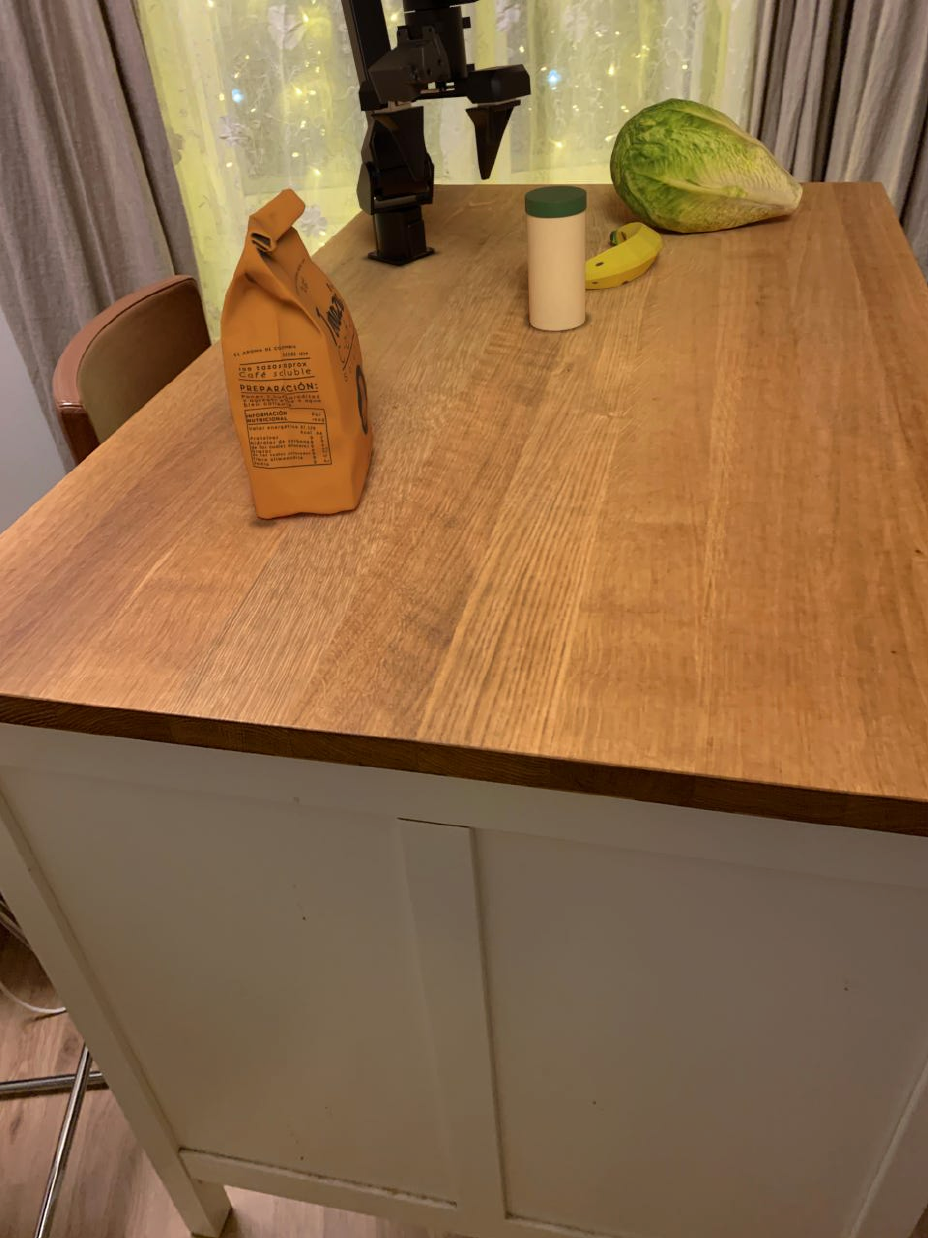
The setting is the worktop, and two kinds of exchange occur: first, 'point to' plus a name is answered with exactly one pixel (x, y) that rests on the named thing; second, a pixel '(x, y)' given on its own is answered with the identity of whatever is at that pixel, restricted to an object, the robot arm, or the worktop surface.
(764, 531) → the worktop surface
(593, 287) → the banana
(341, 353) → the coffee package
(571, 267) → the cheese shaker
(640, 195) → the lettuce
